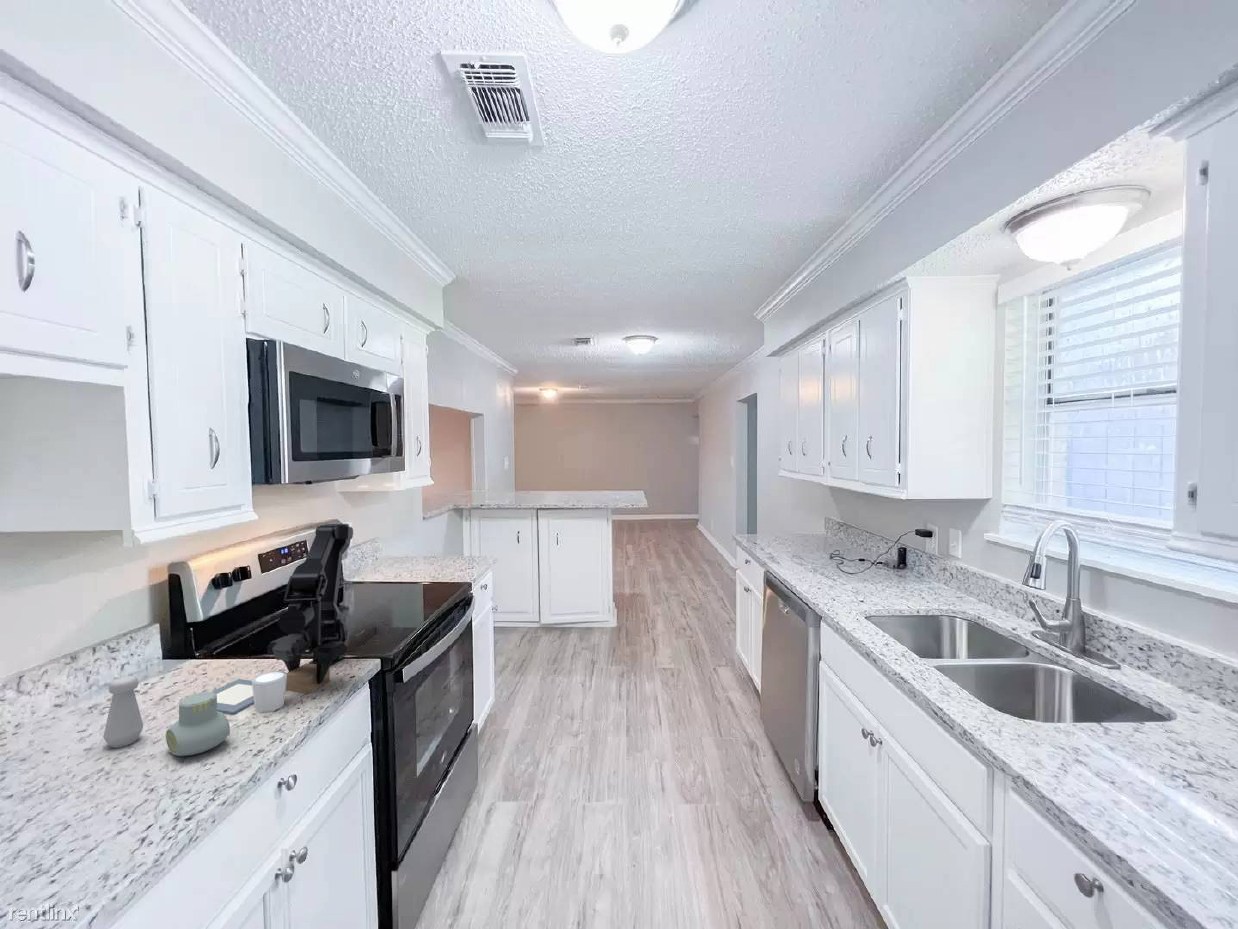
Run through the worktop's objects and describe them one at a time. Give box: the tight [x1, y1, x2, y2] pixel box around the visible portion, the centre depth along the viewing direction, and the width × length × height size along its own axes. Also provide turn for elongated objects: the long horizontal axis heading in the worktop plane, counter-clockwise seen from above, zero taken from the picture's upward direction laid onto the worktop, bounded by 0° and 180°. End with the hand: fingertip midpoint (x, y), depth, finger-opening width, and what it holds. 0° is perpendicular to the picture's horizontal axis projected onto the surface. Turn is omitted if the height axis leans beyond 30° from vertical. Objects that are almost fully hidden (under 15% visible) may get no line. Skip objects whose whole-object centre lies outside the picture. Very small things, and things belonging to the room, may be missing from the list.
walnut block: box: [285, 662, 331, 694], centre depth 131 cm, size 7×7×4 cm
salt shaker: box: [102, 675, 144, 749], centre depth 104 cm, size 6×6×13 cm
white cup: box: [251, 670, 288, 713], centre depth 120 cm, size 7×7×7 cm
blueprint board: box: [211, 678, 254, 715], centre depth 124 cm, size 14×14×1 cm
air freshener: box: [165, 691, 231, 757], centre depth 103 cm, size 11×8×10 cm
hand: (307, 681), depth 131 cm, fingers closed on walnut block, 7 cm apart
